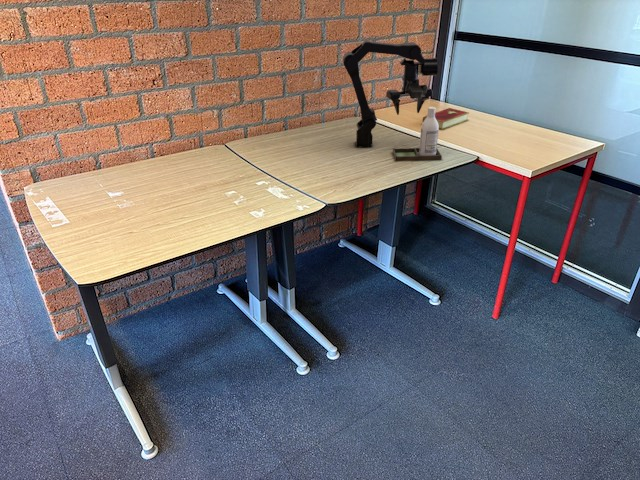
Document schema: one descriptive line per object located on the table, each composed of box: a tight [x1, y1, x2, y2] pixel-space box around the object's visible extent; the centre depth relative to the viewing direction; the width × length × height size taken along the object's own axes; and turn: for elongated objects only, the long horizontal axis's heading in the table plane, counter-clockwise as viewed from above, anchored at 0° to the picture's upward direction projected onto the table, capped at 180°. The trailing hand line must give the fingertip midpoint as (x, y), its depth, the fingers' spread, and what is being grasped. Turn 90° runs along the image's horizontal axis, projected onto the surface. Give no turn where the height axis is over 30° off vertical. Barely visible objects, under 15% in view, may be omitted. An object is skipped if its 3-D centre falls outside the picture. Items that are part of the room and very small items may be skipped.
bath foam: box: [418, 106, 440, 156], centre depth 196 cm, size 7×7×20 cm
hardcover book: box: [422, 107, 470, 131], centre depth 238 cm, size 12×21×4 cm, turn 132°
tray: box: [392, 147, 443, 162], centre depth 201 cm, size 18×10×2 cm, turn 91°
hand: (407, 113), depth 207 cm, fingers open, 9 cm apart
